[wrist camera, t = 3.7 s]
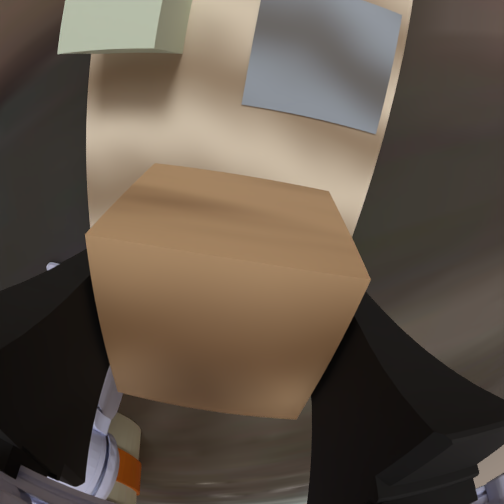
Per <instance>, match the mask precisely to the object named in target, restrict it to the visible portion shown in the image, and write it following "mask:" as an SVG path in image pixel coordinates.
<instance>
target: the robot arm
mask: <svg viewBox="0 0 504 504" xmlns="http://www.w3.org/2000/svg"><path fill="white" fill-rule="evenodd" d="M122 396H123V393H120V392H118V391H117V388H116V384H115V381H114V377H113V374H112V370H111V367H110V363H109V359H108V355H107V352H106V348H105V344H104V339H103V335H102V331H101V326H100V322H99V317H98V312H97V307H96V302H95V297H94V291H93V286H92V280H91V274H90V267H89V260H88V253H87V249H85V250H84V251H82V252H80V253H79V254H77V255H75V256H73V257H71V258H69V259H68V260H66V261H64V262H62V263H61V264H58V263H53V262H50V263H49V264H48V265H47V271H46V272H44V273H42V274H40V275H37V276H35V277H33V278H31V279H29V280H27V281H24V282H22V283H20V284H17V285H15V286H12V287H9V288H7V289H4V290H2V291H0V504H117V503H114V502H111V501H107V500H106V499H107V497H108V496H109V494H110V493H111V491H112V489H113V487H114V484H115V481H116V478H117V475H118V470H119V462H120V458H119V451H118V447H117V442H116V440H115V438H114V436H113V435H112V434H110V433H108V430H109V426H110V423H111V420H112V419H113V418H114V416H115V415H116V413H117V411H118V408H119V405H120V402H121V399H122ZM311 400H312V452H311V469H310V483H309V492H308V500H307V504H504V473H503V474H501V475H499V476H497V477H496V478H494V479H492V480H491V481H489V482H488V483H487V484H486V485H484V486H481V487H479V488H476V489H475V484H474V481H473V478H474V477H476V476H478V474H479V470H478V466H477V464H478V463H479V462H480V461H482V460H483V459H485V458H486V457H488V456H489V455H490V454H492V453H493V452H494V451H495V450H497V449H498V448H500V447H501V446H502V445H503V444H504V400H503V399H502V398H500V397H498V396H496V395H494V394H492V393H490V392H488V391H486V390H484V389H482V388H480V387H478V386H477V385H475V384H473V383H472V382H470V381H469V380H467V379H465V378H464V377H462V376H461V375H459V374H457V373H456V372H455V371H453V370H452V369H450V368H449V367H447V366H446V365H444V364H443V363H442V362H440V361H439V360H438V359H437V358H435V357H434V356H433V355H431V354H430V353H429V352H427V351H426V350H425V349H424V348H422V347H421V346H420V345H419V344H418V343H417V342H415V341H414V340H413V339H412V338H411V337H410V336H409V335H408V334H406V333H405V332H404V331H403V330H402V329H401V328H400V327H399V326H398V325H397V324H396V323H395V322H394V321H393V320H392V319H391V318H390V317H389V316H388V315H387V314H386V313H385V312H384V311H383V310H382V309H381V308H380V307H379V306H378V305H377V304H376V302H375V301H374V300H373V299H372V298H371V297H370V296H369V295H368V294H367V292H366V291H365V293H364V295H363V298H362V300H361V302H360V304H359V306H358V308H357V310H356V312H355V314H354V316H353V318H352V320H351V322H350V324H349V326H348V328H347V330H346V332H345V334H344V336H343V338H342V340H341V342H340V344H339V346H338V348H337V350H336V351H335V353H334V355H333V357H332V359H331V361H330V363H329V364H328V366H327V368H326V370H325V372H324V373H323V375H322V377H321V379H320V380H319V382H318V384H317V386H316V387H315V389H314V391H313V392H312V394H311Z"/></svg>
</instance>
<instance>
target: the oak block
mask: <svg viewBox="0 0 504 504" xmlns="http://www.w3.org/2000/svg"><path fill="white" fill-rule="evenodd" d="M85 237H86V246H87V253H88V260H89V267H90V274H91V280H92V286H93V291H94V297H95V302H96V307H97V312H98V317H99V322H100V326H101V331H102V335H103V339H104V344H105V348H106V352H107V355H108V359H109V363H110V367H111V370H112V374H113V377H114V381H115V384H116V388H117V391H118V392H120V393H124V394H128V395H132V396H136V397H140V398H145V399H149V400H153V401H158V402H163V403H168V404H173V405H178V406H184V407H189V408H195V409H201V410H208V411H214V412H221V413H229V414H237V415H246V416H256V417H267V418H281V419H297V417H298V416H299V414H300V412H301V411H302V409H303V407H304V406H305V404H306V403H307V401H308V399H309V398H310V396H311V394H312V392H313V391H314V389H315V387H316V386H317V384H318V382H319V380H320V379H321V377H322V375H323V373H324V372H325V370H326V368H327V366H328V364H329V363H330V361H331V359H332V357H333V355H334V353H335V351H336V350H337V348H338V346H339V344H340V342H341V340H342V338H343V336H344V334H345V332H346V330H347V328H348V326H349V324H350V322H351V320H352V318H353V316H354V314H355V312H356V310H357V308H358V306H359V304H360V302H361V300H362V298H363V295H364V293H365V291H366V289H367V287H368V285H369V282H370V280H371V279H370V277H369V275H368V272H367V270H366V268H365V266H364V263H363V261H362V259H361V257H360V254H359V252H358V250H357V248H356V246H355V244H354V241H353V239H352V237H351V235H350V233H349V231H348V229H347V227H346V225H345V223H344V220H343V218H342V216H341V214H340V212H339V210H338V208H337V206H336V204H335V202H334V200H333V198H332V196H331V194H330V192H329V191H325V190H321V189H316V188H311V187H306V186H301V185H296V184H290V183H285V182H280V181H274V180H268V179H263V178H257V177H251V176H245V175H239V174H232V173H226V172H219V171H213V170H206V169H198V168H191V167H183V166H175V165H167V164H159V163H155V164H153V165H152V166H151V167H150V168H149V169H148V170H147V171H146V172H145V173H144V174H143V175H142V176H141V177H140V178H139V179H138V180H137V181H136V182H135V183H134V184H133V185H132V186H131V187H130V188H129V189H127V190H126V191H125V192H124V194H123V195H122V196H121V197H120V198H119V199H118V200H117V201H116V202H115V203H114V204H113V205H112V206H111V207H110V208H109V209H108V210H107V211H106V212H105V213H104V214H103V215H102V216H101V217H100V219H99V220H98V221H97V222H96V223H95V224H94V225H93V226H92V227H91V228H90V229H89V231H88V232H87V233H86V234H85Z"/></svg>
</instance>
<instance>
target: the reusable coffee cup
mask: <svg viewBox="0 0 504 504" xmlns="http://www.w3.org/2000/svg"><path fill="white" fill-rule="evenodd" d="M108 433H110V434H112V435H113V436H114V438H115V440H116V442H117V447H118V451H119V458H120V462H119V470H118V475H117V478H116V481H115V484H114V487H113V489H112V491H111V493H110V494H109V496H108V497H107V499H106V500H107V501H111V502H114V503H117V504H136V495H139V494H140V477H141V463H140V462H139V449H140V438H141V429H140V427H139V426H138V425H137V424H136V423H135V422H133V421H132V420H131V419H129V418H127V417H126V416H124V415H122V414H120V413H118V412H117V413H116V415H115V416H114V418H113V419H112V420H111V423H110V426H109V430H108Z"/></svg>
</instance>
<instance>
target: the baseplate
mask: <svg viewBox="0 0 504 504" xmlns="http://www.w3.org/2000/svg"><path fill="white" fill-rule="evenodd" d="M412 2H413V0H192V4H191V9H190V14H189V19H188V25H187V30H186V36H185V42H184V48H183V54H174V53H111V54H91V62H90V72H89V84H88V100H87V125H86V163H87V189H88V205H89V218H90V228H91V227H92V226H93V225H94V224H95V223H96V222H97V221H98V220H99V219H100V217H101V216H102V215H103V214H104V213H105V212H106V211H107V210H108V209H109V208H110V207H111V206H112V205H113V204H114V203H115V202H116V201H117V200H118V199H119V198H120V197H121V196H122V195H123V194H124V192H125V191H126V190H127V189H129V188H130V187H131V186H132V185H133V184H134V183H135V182H136V181H137V180H138V179H139V178H140V177H141V176H142V175H143V174H144V173H145V172H146V171H147V170H148V169H149V168H150V167H151V166H152V165H153V164H155V163H159V164H167V165H175V166H183V167H191V168H198V169H206V170H213V171H219V172H226V173H232V174H239V175H245V176H251V177H257V178H263V179H268V180H274V181H280V182H285V183H290V184H296V185H301V186H306V187H311V188H316V189H321V190H325V191H329V192H330V194H331V196H332V198H333V200H334V202H335V204H336V206H337V208H338V210H339V212H340V214H341V216H342V218H343V220H344V223H345V225H346V227H347V229H348V231H349V233H350V235H351V237H352V235H353V232H354V230H355V227H356V224H357V221H358V218H359V215H360V212H361V209H362V206H363V203H364V200H365V197H366V194H367V191H368V187H369V184H370V181H371V178H372V174H373V171H374V168H375V165H376V161H377V158H378V154H379V151H380V147H381V144H382V140H383V137H384V133H385V129H386V126H387V122H388V118H389V114H390V110H391V106H392V102H393V98H394V94H395V90H396V85H397V81H398V77H399V72H400V67H401V63H402V58H403V53H404V48H405V43H406V37H407V32H408V26H409V21H410V15H411V8H412Z"/></svg>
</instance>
